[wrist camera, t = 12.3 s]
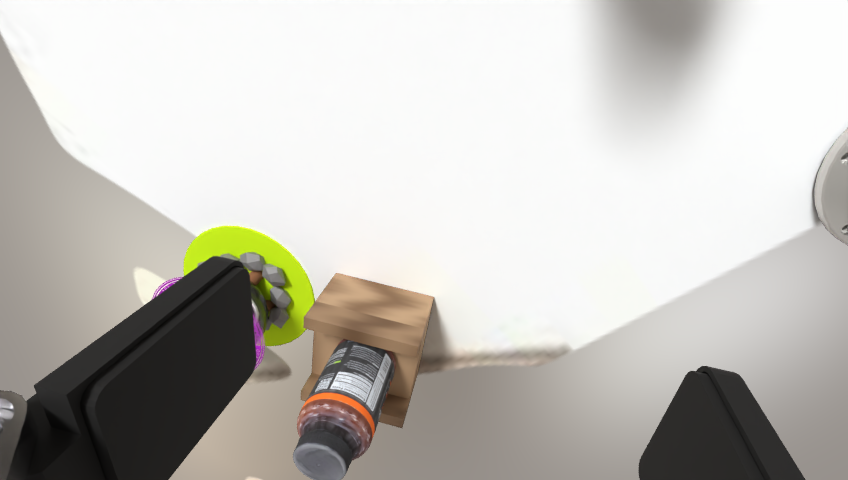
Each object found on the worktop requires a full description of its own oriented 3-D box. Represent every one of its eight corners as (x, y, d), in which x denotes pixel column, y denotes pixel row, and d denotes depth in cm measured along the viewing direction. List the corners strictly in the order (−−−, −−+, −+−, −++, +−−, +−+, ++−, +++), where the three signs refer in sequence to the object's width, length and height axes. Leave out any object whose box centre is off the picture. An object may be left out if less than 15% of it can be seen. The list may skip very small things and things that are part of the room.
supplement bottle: (378, 390, 42) (335, 505, 32) (326, 358, 41) (265, 464, 31) (410, 354, 39) (373, 467, 29) (354, 319, 38) (297, 422, 28)
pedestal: (433, 296, 42) (418, 346, 35) (418, 371, 46) (402, 428, 40) (336, 272, 43) (303, 317, 36) (330, 348, 47) (300, 399, 41)
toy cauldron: (291, 219, 41) (222, 278, 31) (330, 344, 47) (283, 426, 37) (163, 230, 45) (65, 286, 35) (215, 345, 51) (143, 419, 41)
